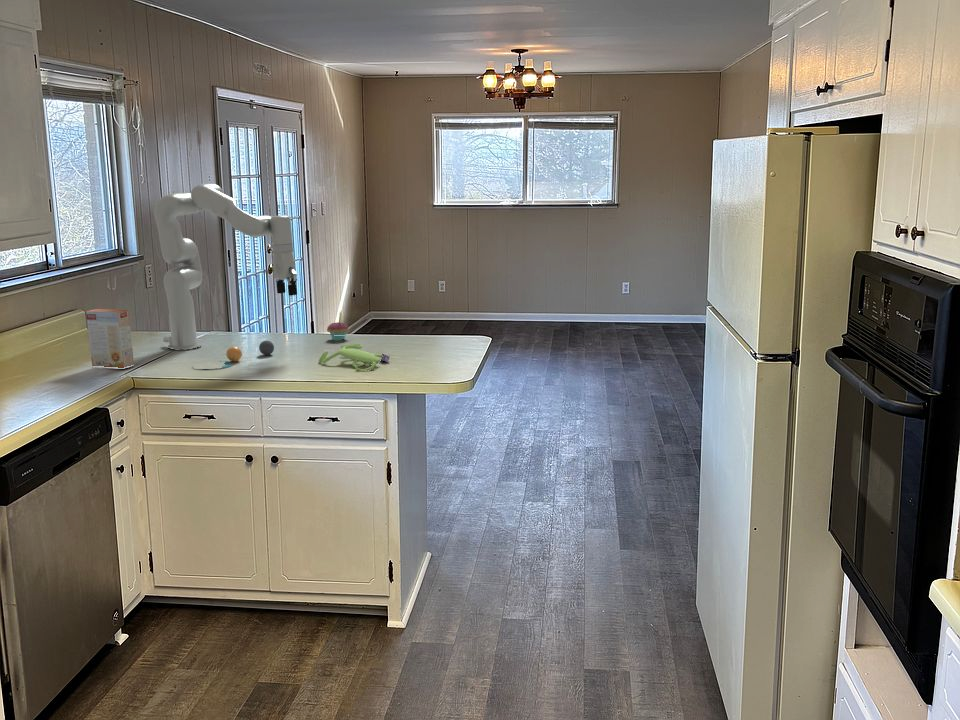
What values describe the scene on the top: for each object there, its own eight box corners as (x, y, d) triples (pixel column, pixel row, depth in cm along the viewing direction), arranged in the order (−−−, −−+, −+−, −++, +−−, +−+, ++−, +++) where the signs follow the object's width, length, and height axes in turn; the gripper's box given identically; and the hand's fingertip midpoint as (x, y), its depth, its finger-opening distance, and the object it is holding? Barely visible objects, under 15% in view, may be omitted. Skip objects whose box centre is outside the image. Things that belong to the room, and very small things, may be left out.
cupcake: (352, 338, 362) (351, 309, 360) (341, 342, 355) (339, 312, 352) (335, 336, 366) (333, 308, 363) (323, 340, 358) (321, 311, 356)
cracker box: (135, 366, 317) (129, 309, 312) (123, 370, 311) (117, 312, 307) (103, 364, 321) (97, 307, 317) (91, 368, 316) (85, 310, 311)
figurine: (350, 355, 333) (349, 340, 332) (401, 364, 317) (400, 348, 316) (312, 364, 319) (311, 348, 318) (364, 374, 303) (363, 358, 301)
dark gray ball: (257, 356, 331) (256, 341, 330) (263, 353, 336) (262, 339, 335) (270, 356, 330) (269, 342, 329) (277, 353, 335) (276, 339, 334)
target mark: (184, 369, 312) (184, 368, 312) (205, 360, 325) (205, 360, 325) (220, 370, 309) (220, 370, 309) (239, 362, 322) (239, 361, 322)
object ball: (224, 362, 321) (222, 347, 320) (231, 359, 326) (230, 344, 325) (238, 363, 320) (236, 348, 319) (245, 359, 325) (244, 345, 324)
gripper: (263, 248, 336) (268, 293, 339) (283, 250, 322) (288, 297, 326) (281, 247, 340) (286, 291, 344) (302, 248, 327) (306, 294, 330)
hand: (287, 294), depth 335 cm, fingers open, 9 cm apart
